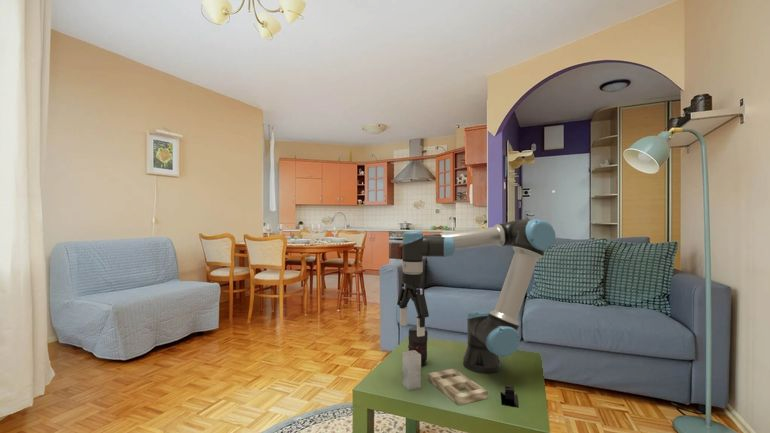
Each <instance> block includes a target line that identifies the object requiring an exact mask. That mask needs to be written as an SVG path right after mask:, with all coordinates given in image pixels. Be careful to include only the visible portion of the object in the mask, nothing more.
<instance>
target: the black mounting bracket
mask: <svg viewBox="0 0 770 433" xmlns="http://www.w3.org/2000/svg"><path fill="white" fill-rule="evenodd" d="M500 401H501V402H500V403H501V406H506V407H510V408H511V407H512V408H518V409H519V408H520V404H519V398H518V393H515V386H514V385H508V384H506V385H504V392H503V391H500Z"/></svg>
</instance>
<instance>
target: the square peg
mask: <svg viewBox="0 0 770 433" xmlns="http://www.w3.org/2000/svg"><path fill="white" fill-rule="evenodd" d="M402 385H403V387H405V389H407V390H408V391H412V390H416V389H422V366H421V354H419V353H418V352H417V351H415V350H412V351H409V350H407V351H402Z"/></svg>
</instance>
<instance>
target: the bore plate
mask: <svg viewBox="0 0 770 433" xmlns="http://www.w3.org/2000/svg"><path fill="white" fill-rule="evenodd" d="M427 381H429V383H431V384H432V385H433V386H434V387H436V388H437V389H438V390H439V391H440V392H442V393H443V394H444V395H445V396H447V397H448V398H449V399H450V400H452V401H453V402H454V403H455V404H456V405H458V406H461V405H466V404H469V403H474V402H478V401H483V400H486V399H488V394H489V392H488V390H487V389H485V388H484V387H483V386H481V385H479V384H478V383H477V382H475V381H473V380H472V379H470V378H469V377H467V376H466V375H465V374H463V373H461V372H460V371H458V370H457V369H456V368H450V369H444V370H437V371H434V372H428V373H427ZM460 390H467V391H465V392H461V391H460Z"/></svg>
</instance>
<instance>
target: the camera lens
mask: <svg viewBox="0 0 770 433" xmlns="http://www.w3.org/2000/svg"><path fill="white" fill-rule="evenodd" d="M428 334H429V333H428V329H427V327H425V336H419V337H418V336H417V325H416V326H415V325H413V326H410V327H409V329H408V345H407V346H408V347H407V348H408V351H412V350H415V351H417V352H418V353H419V354H421V367H425V365H426V363H427V360H428V358H427V357H428Z"/></svg>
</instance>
